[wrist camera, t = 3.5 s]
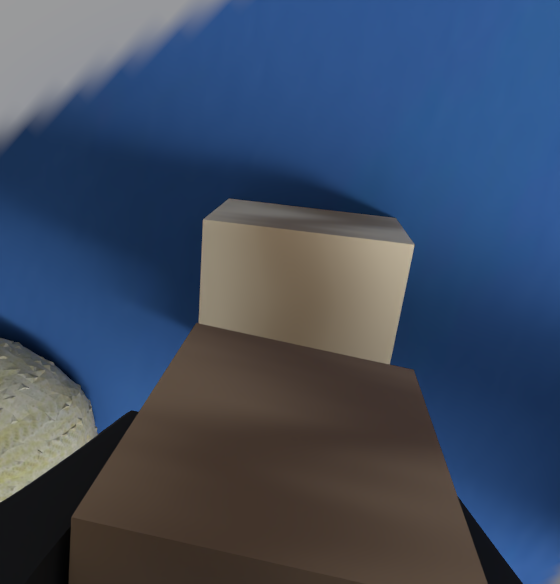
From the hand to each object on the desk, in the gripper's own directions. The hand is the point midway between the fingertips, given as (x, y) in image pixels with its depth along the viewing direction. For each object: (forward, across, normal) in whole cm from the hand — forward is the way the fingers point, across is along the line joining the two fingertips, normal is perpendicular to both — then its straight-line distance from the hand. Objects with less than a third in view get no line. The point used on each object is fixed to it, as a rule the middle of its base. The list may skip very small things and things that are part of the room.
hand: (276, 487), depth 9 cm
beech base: (+10, 0, 0) cm, 10 cm away
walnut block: (+2, 0, 0) cm, 2 cm away
